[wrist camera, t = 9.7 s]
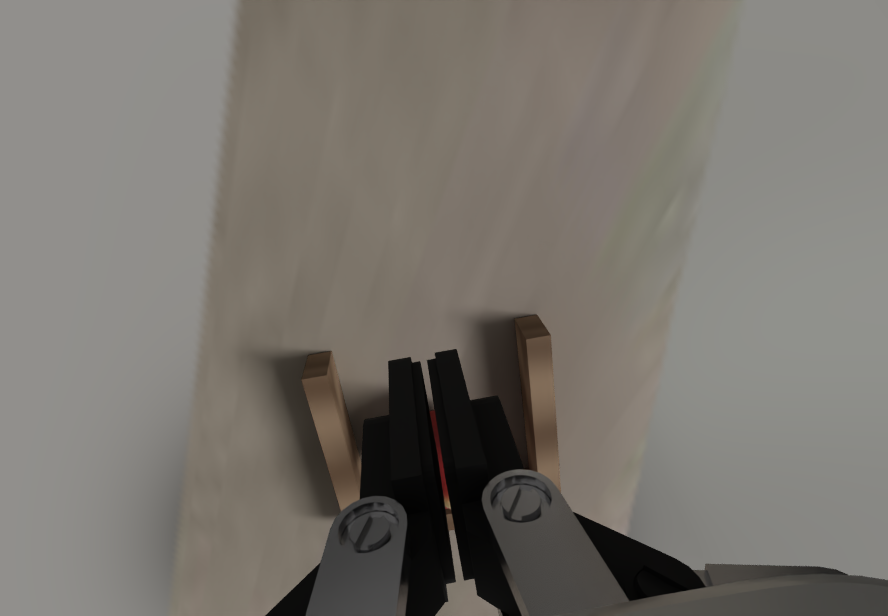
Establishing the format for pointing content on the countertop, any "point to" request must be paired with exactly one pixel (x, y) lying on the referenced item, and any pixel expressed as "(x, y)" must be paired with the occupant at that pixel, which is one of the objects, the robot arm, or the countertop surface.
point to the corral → (535, 397)
